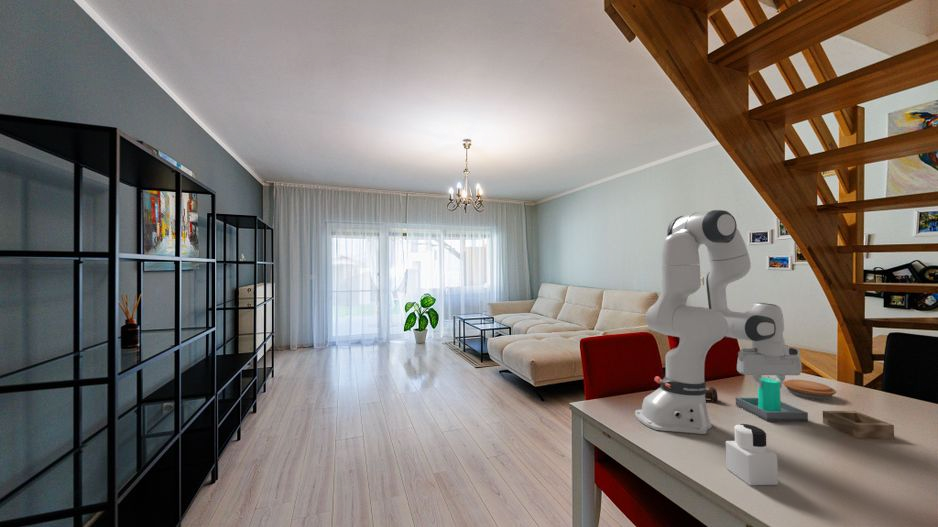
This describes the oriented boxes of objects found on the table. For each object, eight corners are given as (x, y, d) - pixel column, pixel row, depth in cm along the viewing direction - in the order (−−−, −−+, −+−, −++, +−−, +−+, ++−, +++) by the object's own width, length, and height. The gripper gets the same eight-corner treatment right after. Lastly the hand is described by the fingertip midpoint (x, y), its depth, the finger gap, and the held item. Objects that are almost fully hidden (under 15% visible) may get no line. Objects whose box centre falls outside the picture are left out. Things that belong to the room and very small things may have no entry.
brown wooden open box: (858, 438, 102) (858, 424, 102) (822, 422, 112) (822, 410, 113) (894, 438, 102) (893, 425, 102) (855, 423, 112) (854, 410, 112)
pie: (842, 398, 135) (842, 385, 135) (828, 405, 127) (828, 392, 127) (791, 386, 148) (791, 375, 148) (776, 393, 141) (775, 380, 141)
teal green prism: (772, 414, 117) (771, 379, 117) (754, 407, 123) (753, 374, 123) (785, 412, 118) (784, 378, 119) (766, 406, 124) (765, 373, 124)
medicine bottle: (752, 467, 87) (751, 420, 87) (779, 485, 80) (777, 433, 80) (725, 468, 87) (724, 421, 87) (749, 486, 79) (748, 434, 80)
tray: (766, 421, 114) (766, 412, 114) (735, 405, 127) (735, 397, 127) (808, 421, 113) (807, 412, 114) (772, 405, 127) (772, 397, 127)
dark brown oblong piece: (671, 400, 138) (715, 404, 133) (673, 397, 134) (718, 401, 129) (669, 385, 141) (712, 388, 135) (671, 382, 137) (715, 385, 131)
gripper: (745, 350, 118) (746, 390, 118) (805, 350, 118) (806, 390, 117) (731, 346, 124) (732, 384, 124) (788, 346, 124) (789, 384, 124)
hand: (769, 387), depth 121 cm, fingers closed on teal green prism, 5 cm apart
